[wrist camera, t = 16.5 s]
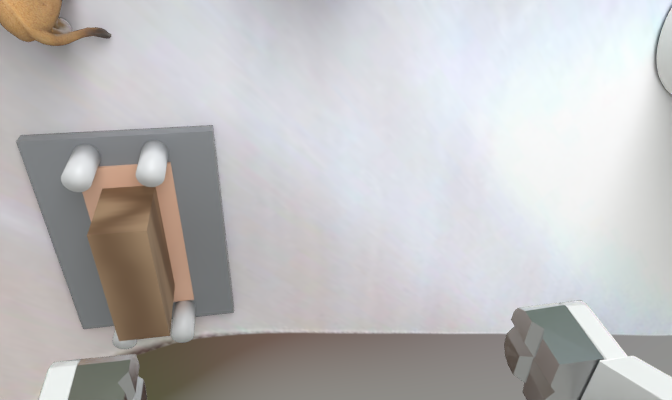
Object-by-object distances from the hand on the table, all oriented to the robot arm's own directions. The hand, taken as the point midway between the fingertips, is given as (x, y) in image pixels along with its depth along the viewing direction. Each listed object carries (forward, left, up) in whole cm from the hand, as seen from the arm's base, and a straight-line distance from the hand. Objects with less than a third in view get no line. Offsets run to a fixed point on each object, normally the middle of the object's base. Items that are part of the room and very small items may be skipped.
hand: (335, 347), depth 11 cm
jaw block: (+11, +20, -30) cm, 38 cm away
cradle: (+11, +20, -31) cm, 39 cm away
